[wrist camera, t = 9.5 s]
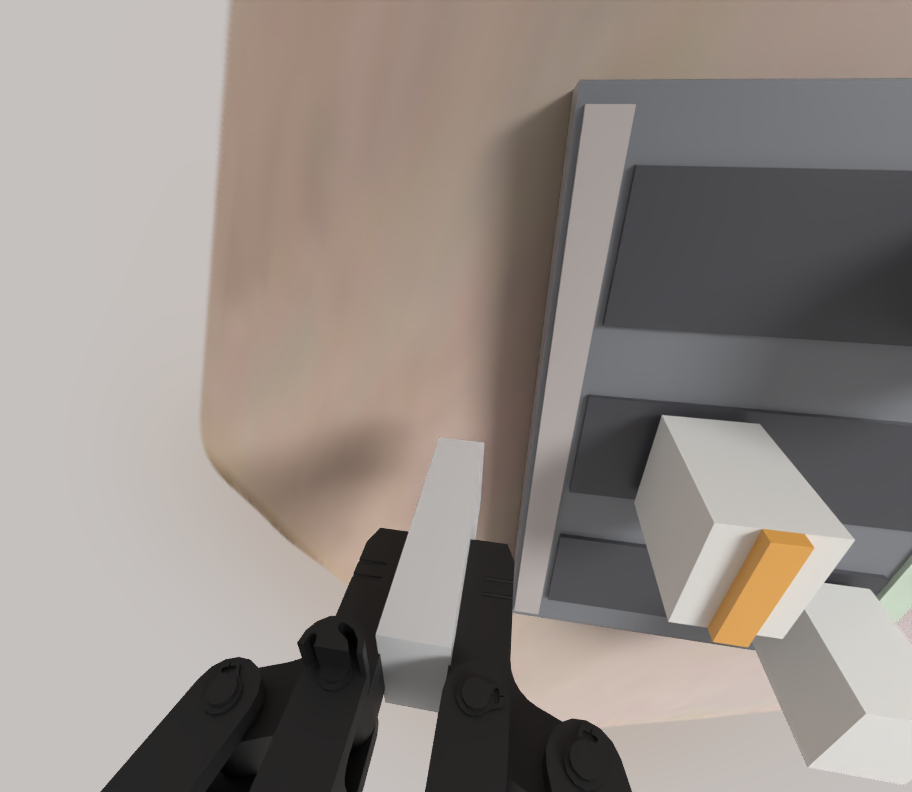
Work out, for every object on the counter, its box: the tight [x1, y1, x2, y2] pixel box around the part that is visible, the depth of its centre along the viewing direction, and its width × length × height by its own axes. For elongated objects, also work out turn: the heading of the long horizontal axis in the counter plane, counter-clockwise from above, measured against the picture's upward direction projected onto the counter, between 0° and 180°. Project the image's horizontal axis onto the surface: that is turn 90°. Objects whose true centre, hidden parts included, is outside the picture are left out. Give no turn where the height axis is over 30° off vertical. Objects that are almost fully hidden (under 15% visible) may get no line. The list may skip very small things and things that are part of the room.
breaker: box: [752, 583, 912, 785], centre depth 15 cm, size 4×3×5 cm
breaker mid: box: [634, 415, 855, 647], centre depth 13 cm, size 4×3×5 cm
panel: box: [512, 78, 912, 650], centre depth 16 cm, size 22×16×2 cm
